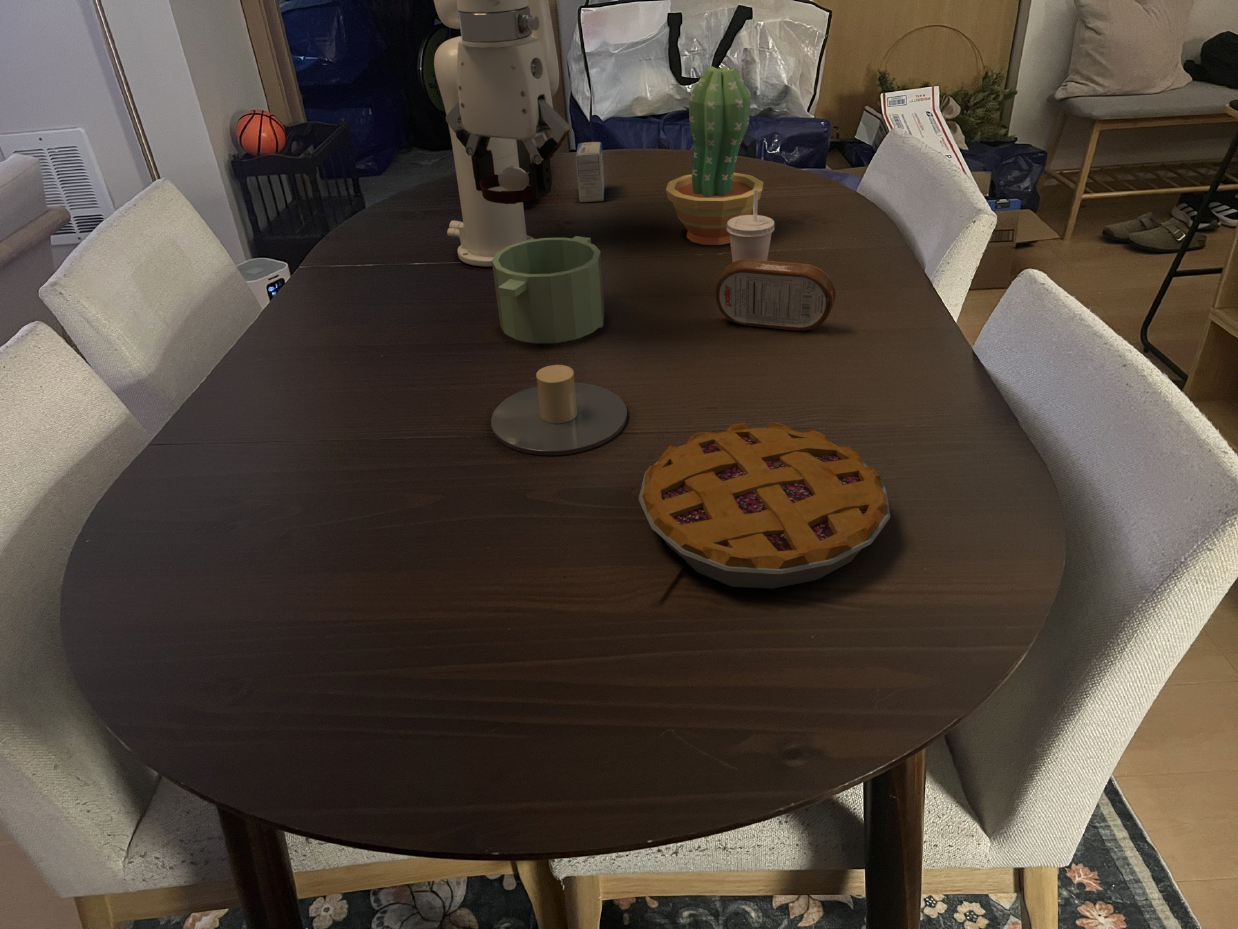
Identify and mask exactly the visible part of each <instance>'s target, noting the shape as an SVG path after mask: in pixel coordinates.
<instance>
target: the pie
mask: <svg viewBox="0 0 1238 929" xmlns="http://www.w3.org/2000/svg"><path fill="white" fill-rule="evenodd" d="M642 478H643V479H642V483H641V488H640V492H639V496H638V502H639V504H640V506H641V508H642V510H643V513H644V515H645V517H646V520H647V522H648V524H649V526H650V528H651V530H653V531H654V532H655V533H656V534H657V535H659V536H660V537H661V538H662V539H663V541H664V542H665V544H666V545H667V547H669V548H670V549H671V550H672V551H673V552H674V553H676V554H677V555H678V556H679V557H680V558H682V560H684V561H685V563H686V564H687V565H688V566H689V567H691V568H692V569H693V570H694V571H695V572H696V573H698V574H700V575H702V576H705V577H707V578H710V579H713V580H714V581H717V582H718V583H722V584H724V585H726V586H729V587H732V588H752V589H753V588H754V589H777V588H778V589H779V588H783V587H787V586H793V585H798V584H803V583H808V582H813V581H818V580H819V579H821V578H823V577H825V576H827V575H829V574H831V573H833V572H834V571H837V570H838V569H841V568H842V567H844V566H846V565H847V564H850V563H851V562H852V561H853V560H854V559H855V557H856V556H857V555H858V554H859V553H860V551H861V550H863V549H864V548H866V547H868V546H870V545H871V544H873V542H874V541H875V540H876V538H877V537H878V536H879V534H880V533H881V531H882V530H883V528H884V527H885V526H886V524H887V523H888V521H889V520H890V519H891V512H890V504H889V497H888V492H887V488H886V487H885V485H884V484H883V483H882V479H881V476H880V474H879V473H878V471H877V470H876V468H875V467H874V466H868V465H867V464H866V463H865V462H864V461H863V458H862V456H861V454H860V453H859V452H858V451H856V450H854V449H853V448H852V447H850V446H849V445H847V446H838V445H836V444H834V443H833V442H831V441H830V439H829V437H828V435H827V434H824V433H822V432H819V431H816V430H814V429H812V430H809V431H806V432H802V431H797V430H793V429H792V428H790V427H789V426H788V425H787V424H783V423H779V422H775V421H770V422H769V423H768V424H767V425H766V426H765V427H751V426H750V425H748V424H746V422H739V423H733V424H730V425H729V426H728V428H727V430H725V431H721V432H708V431H701V432H697V433H692V434H691V435H690V437H689V438H688V440H687V442H686V443H685V444H682V445H680V446H675V445H669V446H668V447H667V448H666V449H665V450H664V452H663V453H661V455H660V457H659V459H658V460H657V461H656V462H655V463H653V464H652V465H649V466H648V467H647V469H646V471H645V472H644V475H643V477H642Z"/></svg>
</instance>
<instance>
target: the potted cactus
mask: <svg viewBox="0 0 1238 929" xmlns="http://www.w3.org/2000/svg"><path fill="white" fill-rule="evenodd" d="M744 82H745V80H744V79H743V78H741V76H740V75H739V73H738V72H737V70H736V68H735V67H732V68H729V69H728V66H727V65H723V66H722V67H720V68H717V67H714V66H709V69H708V68H706V70H705V71H704V72H703V73H702V75H701V77H700V78H699V79H698V81H697V83H696V84H695V85H694V87H693V89H692V91H691V94H690V95H689V97H688V114H689V115H688V117H689V118H688V119H689V129H690V133H691V137H692V141H693V144H694V147H693V158H692V168H691V169H692V172H691V173H690V174H685V175H682V176H679V177H677V178H675V179H672V180H670V181H668V183H667V185H666V188H665V194H666V197H667V200H669V201H670V202H672V205H673V208H674V210H675V213H676V216H677V218H678V219H679V221H680V223H681V224H682V225H683V226H684V228H685V229H686V231H687V232H686V238H687V239H688V240H689V241H690V242H692V243H695V244H699V245H703V246H706V245H707V246H721V245H726V244H730V234H729V232H728V231H727V222H728V221H729V220H730V219H732V218H734V217H737V216H742V215H752V214H753V202H754V190H755V189H758V201H760V200H761V196H762V193H763V189H764V188H763V187H764V181H762V180H761V179H759V178H757V177H755V176H754V175H750V174H745V173H738V172H735V168H736V164H737V160H738V156H739V152H740V147H741V144H742V142H743V140H744V138H745V135H746V133H747V130H748V128H749V125H750V114H751V113H750V112H751V103H752V96H751V94H752V93H751V91H750V90H749V88H748V86H746V85H745V83H744Z"/></svg>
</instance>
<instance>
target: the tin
mask: <svg viewBox="0 0 1238 929" xmlns="http://www.w3.org/2000/svg"><path fill="white" fill-rule="evenodd" d="M714 298H715V302H716V306H717V307H718V309H719V311H720V313H721V314H722V315H723V316H724V317H725V318H726V319H727V320H729V321H731V322H732V323H735V324H737V325H742V326H747V327H757V328H764V329H765V328H766V329H775V330H776V329H777V330H784V331H785V330H786V331H795V332H807V331H808V332H809V331H812V330H814V329H816V328H818V327H819V326H821V325H822V324H824V322H825V321H826V320H827V319H828V317H829V316H830V314H831V311H832V309H833V308H834V306H835V302H836V288H835V285H834V283H833V281H832V279H831V278H830V276H829V275H828V274H827V273H826V272H825V271H824V270H823V269H821V268H819V267H817V266H815V265H812V264H808V263H798V262H787V261H775V260H767V261H766V260H755V259H741V260H738V261H735V262H731V263H729V264H728V265H727V266H726V267H725V268H723V269H722V271H721V272H720V275H719V277H718V279H717V283H716V284H715V288H714Z"/></svg>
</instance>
